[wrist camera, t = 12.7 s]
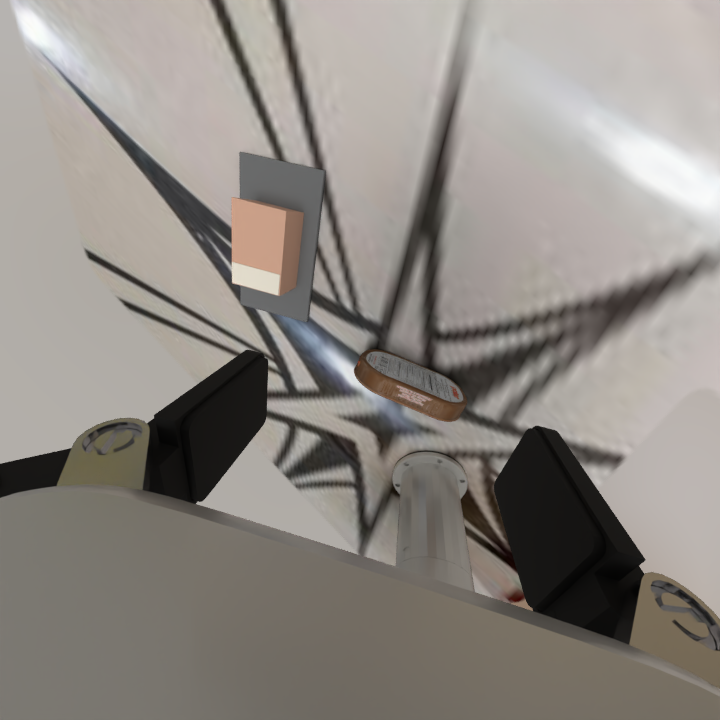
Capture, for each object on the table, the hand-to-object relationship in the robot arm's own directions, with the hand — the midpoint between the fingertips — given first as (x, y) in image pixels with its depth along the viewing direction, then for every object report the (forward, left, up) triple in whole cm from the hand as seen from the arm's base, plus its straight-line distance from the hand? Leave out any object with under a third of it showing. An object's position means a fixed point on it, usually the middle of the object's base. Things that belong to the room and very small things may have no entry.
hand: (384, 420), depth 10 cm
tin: (-12, -4, -28) cm, 31 cm away
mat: (0, +17, -28) cm, 32 cm away
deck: (0, +17, -27) cm, 32 cm away
